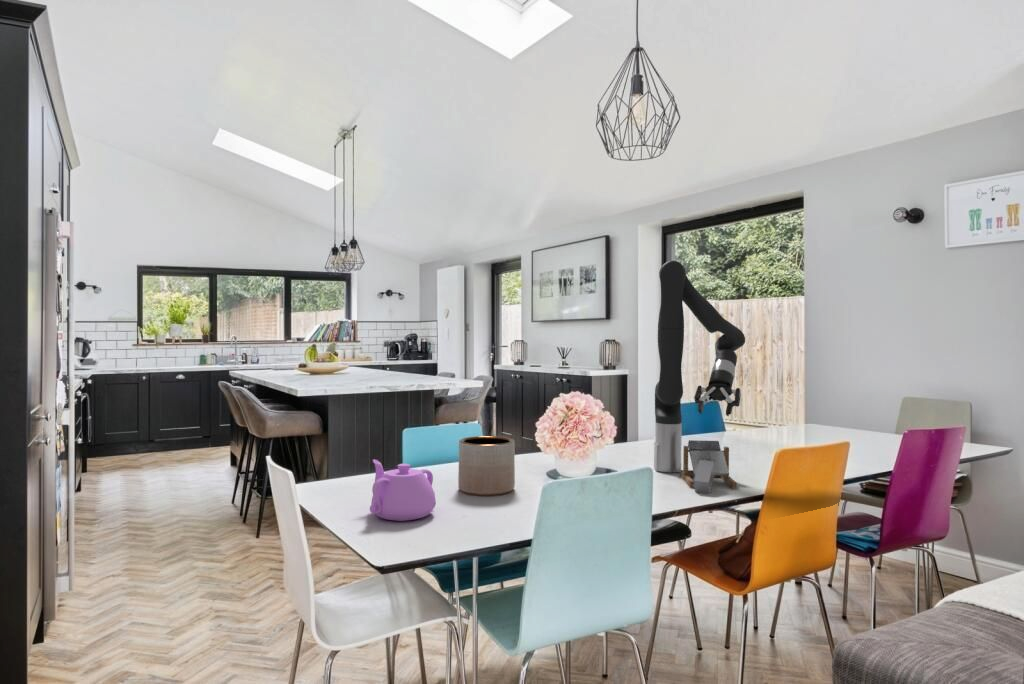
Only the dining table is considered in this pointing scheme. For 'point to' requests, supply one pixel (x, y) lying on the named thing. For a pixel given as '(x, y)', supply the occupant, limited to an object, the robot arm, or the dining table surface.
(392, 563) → the dining table surface
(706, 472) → the basalt block
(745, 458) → the dining table surface
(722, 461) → the trapdoor plate
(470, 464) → the planter
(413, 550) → the dining table surface
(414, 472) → the teapot
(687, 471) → the brown wooden frame
